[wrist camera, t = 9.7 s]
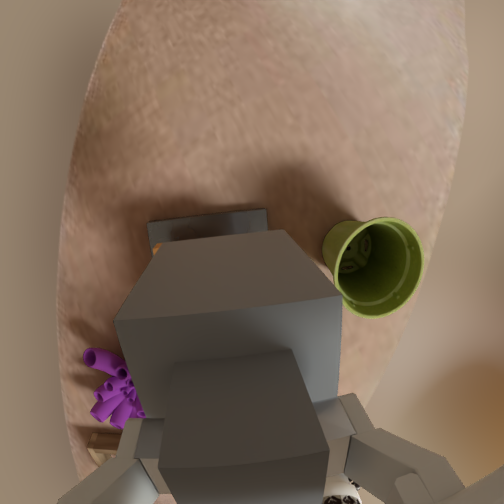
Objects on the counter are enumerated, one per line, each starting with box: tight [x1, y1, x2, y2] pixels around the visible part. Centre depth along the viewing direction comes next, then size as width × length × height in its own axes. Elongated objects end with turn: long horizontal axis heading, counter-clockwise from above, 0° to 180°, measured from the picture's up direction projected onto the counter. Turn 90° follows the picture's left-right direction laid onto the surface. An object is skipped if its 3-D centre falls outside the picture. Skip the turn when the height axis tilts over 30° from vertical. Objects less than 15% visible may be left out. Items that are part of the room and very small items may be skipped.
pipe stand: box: [147, 208, 268, 258], centre depth 28 cm, size 12×12×14 cm
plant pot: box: [322, 217, 424, 319], centre depth 31 cm, size 9×9×9 cm
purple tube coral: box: [83, 348, 146, 429], centre depth 33 cm, size 11×15×10 cm
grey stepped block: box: [113, 229, 343, 504], centre depth 12 cm, size 7×7×13 cm
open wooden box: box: [87, 433, 122, 467], centre depth 39 cm, size 10×17×4 cm, turn 95°
